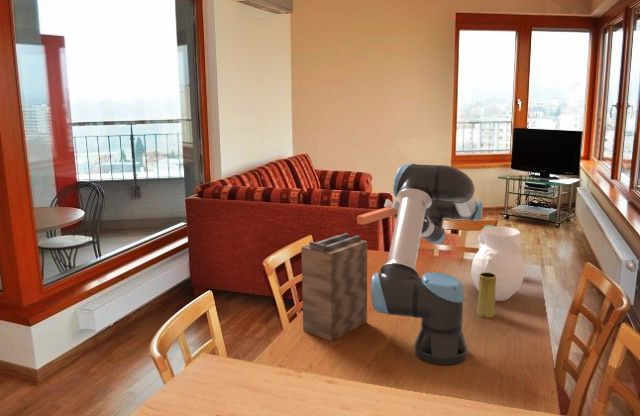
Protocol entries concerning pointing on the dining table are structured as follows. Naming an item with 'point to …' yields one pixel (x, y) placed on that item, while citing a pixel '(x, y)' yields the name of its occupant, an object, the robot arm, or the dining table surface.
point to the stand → (334, 286)
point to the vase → (486, 295)
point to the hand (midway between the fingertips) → (389, 203)
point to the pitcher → (499, 260)
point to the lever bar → (376, 215)
